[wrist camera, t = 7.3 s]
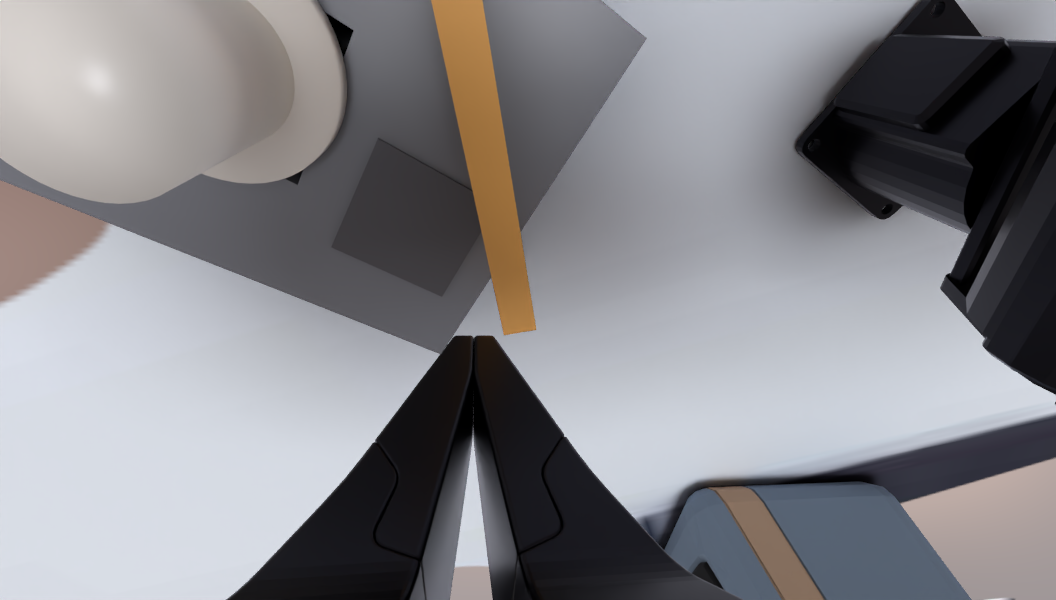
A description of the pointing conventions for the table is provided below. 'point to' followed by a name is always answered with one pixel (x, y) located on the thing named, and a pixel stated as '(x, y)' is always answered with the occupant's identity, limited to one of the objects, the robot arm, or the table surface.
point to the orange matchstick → (486, 154)
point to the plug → (166, 92)
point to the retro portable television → (809, 544)
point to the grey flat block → (397, 167)
